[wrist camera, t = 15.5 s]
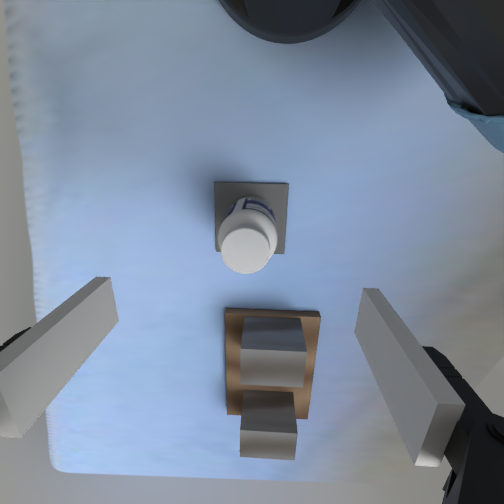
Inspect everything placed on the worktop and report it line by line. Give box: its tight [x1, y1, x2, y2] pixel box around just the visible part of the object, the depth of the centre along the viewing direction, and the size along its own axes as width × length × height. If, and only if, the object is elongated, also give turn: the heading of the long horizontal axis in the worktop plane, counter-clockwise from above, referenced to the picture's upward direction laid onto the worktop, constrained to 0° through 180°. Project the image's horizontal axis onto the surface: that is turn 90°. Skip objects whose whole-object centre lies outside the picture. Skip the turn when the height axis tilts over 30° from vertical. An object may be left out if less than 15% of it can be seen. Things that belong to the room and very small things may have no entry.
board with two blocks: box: [225, 308, 321, 460], centre depth 36 cm, size 18×12×7 cm, turn 179°
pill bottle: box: [218, 197, 277, 274], centre depth 26 cm, size 5×5×10 cm
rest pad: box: [214, 182, 289, 254], centre depth 31 cm, size 8×8×1 cm
